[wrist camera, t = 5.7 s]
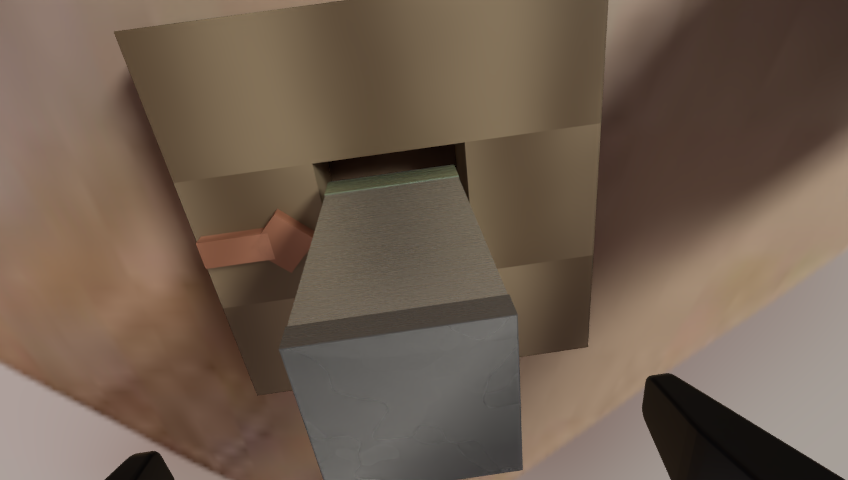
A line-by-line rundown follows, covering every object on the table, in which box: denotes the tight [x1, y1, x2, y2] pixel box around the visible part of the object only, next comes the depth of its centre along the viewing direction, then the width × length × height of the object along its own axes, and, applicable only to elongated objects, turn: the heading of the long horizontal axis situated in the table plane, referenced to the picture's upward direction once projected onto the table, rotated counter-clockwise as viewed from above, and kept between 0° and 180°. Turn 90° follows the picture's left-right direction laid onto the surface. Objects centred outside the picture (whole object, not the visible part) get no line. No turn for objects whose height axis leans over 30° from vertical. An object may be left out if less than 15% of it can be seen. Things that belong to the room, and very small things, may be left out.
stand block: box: [114, 0, 608, 396], centre depth 17 cm, size 14×14×4 cm
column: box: [279, 165, 523, 480], centre depth 12 cm, size 4×4×8 cm
